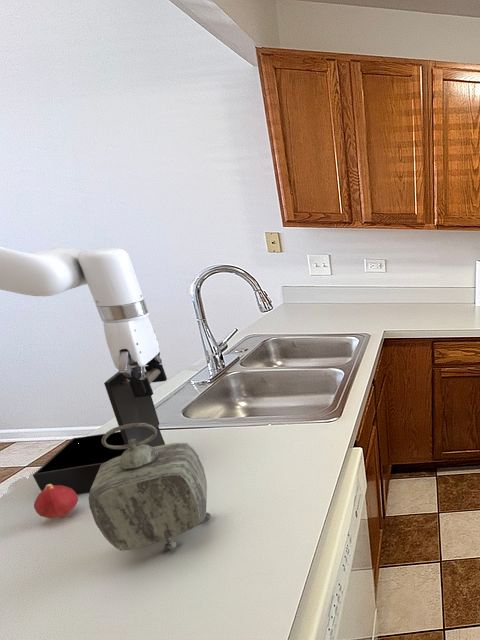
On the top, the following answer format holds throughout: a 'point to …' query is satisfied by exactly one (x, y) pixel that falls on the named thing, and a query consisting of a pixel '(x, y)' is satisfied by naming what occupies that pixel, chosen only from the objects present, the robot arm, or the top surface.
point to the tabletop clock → (148, 493)
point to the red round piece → (55, 501)
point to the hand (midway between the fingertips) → (151, 387)
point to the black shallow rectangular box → (83, 461)
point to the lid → (132, 406)
